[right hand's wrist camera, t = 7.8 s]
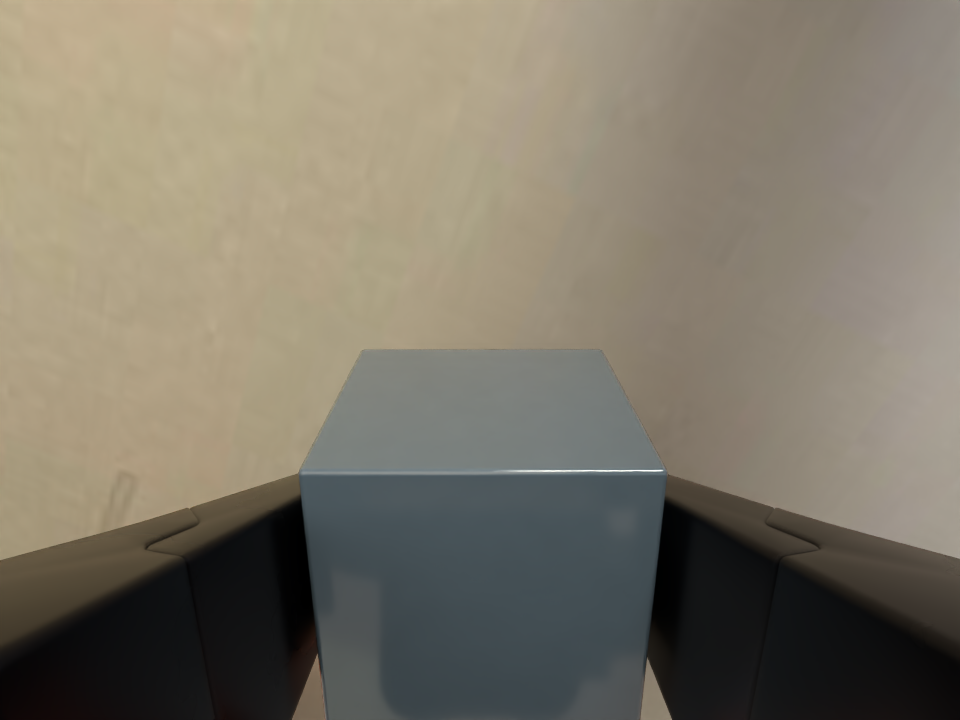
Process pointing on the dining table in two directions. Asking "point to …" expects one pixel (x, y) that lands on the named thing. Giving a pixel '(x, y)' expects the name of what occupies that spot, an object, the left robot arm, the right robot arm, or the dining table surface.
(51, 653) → the right robot arm
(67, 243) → the dining table surface
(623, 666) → the cube
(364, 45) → the dining table surface
